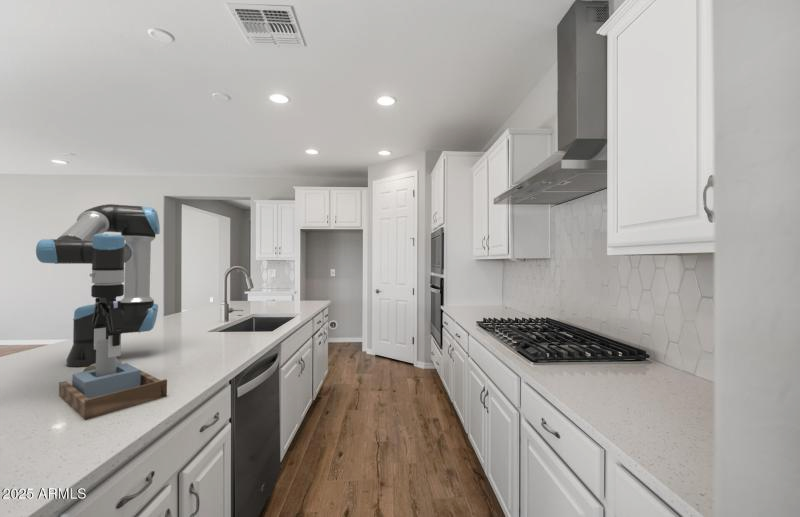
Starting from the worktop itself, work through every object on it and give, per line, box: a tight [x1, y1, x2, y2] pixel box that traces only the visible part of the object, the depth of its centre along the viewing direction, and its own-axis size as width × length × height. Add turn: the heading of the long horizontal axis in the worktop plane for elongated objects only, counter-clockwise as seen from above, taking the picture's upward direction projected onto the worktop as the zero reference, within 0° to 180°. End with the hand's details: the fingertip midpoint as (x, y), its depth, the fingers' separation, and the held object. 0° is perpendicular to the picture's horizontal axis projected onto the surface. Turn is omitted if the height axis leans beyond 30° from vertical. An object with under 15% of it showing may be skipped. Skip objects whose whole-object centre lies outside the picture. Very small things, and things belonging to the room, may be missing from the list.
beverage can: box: [96, 339, 118, 377], centre depth 102 cm, size 5×5×12 cm
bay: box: [58, 370, 168, 421], centre depth 98 cm, size 26×18×6 cm
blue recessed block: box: [71, 362, 142, 399], centre depth 101 cm, size 12×13×6 cm
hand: (106, 352), depth 102 cm, fingers open, 13 cm apart
